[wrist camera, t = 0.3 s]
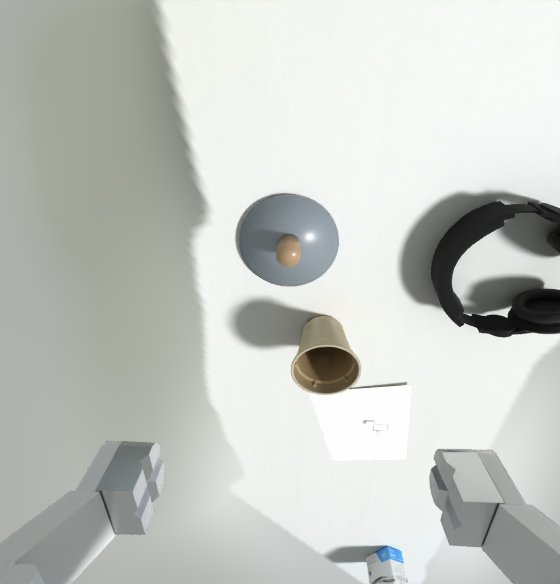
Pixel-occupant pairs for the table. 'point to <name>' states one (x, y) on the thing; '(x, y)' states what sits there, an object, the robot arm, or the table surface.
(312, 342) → the flower pot
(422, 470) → the table surface
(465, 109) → the table surface
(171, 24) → the table surface
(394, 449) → the paper sheet
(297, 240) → the lid
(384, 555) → the ink box
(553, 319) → the headphones
